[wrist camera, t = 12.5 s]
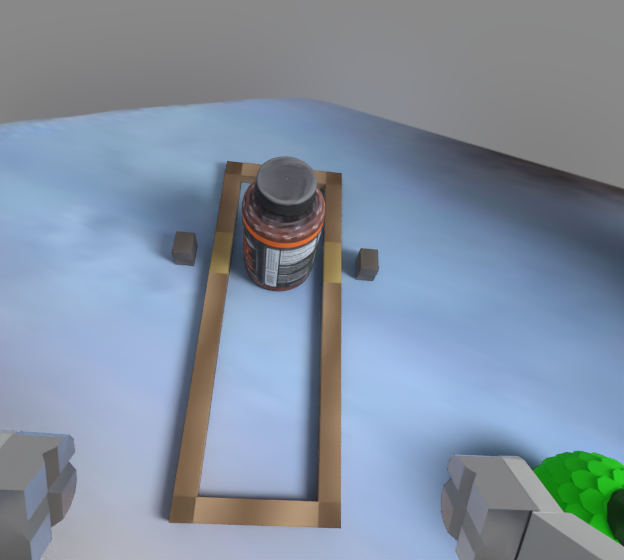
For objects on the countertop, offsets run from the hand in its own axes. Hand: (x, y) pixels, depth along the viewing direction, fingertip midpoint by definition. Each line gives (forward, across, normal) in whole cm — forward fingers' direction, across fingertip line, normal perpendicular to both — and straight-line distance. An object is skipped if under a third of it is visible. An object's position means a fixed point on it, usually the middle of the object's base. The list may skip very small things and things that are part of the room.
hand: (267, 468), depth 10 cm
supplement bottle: (+29, 0, +4) cm, 30 cm away
